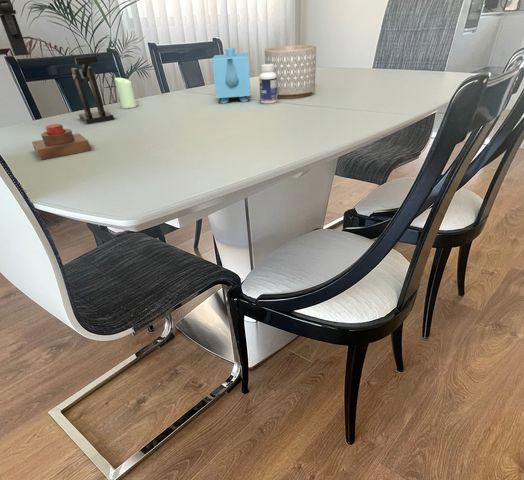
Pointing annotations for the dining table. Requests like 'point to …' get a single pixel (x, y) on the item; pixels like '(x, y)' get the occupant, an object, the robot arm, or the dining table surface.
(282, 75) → the planter
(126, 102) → the candle
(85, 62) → the lever
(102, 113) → the bracket
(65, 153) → the button block
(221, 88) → the blue teardrop bottle box
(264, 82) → the pill bottle
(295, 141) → the dining table surface
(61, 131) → the button
